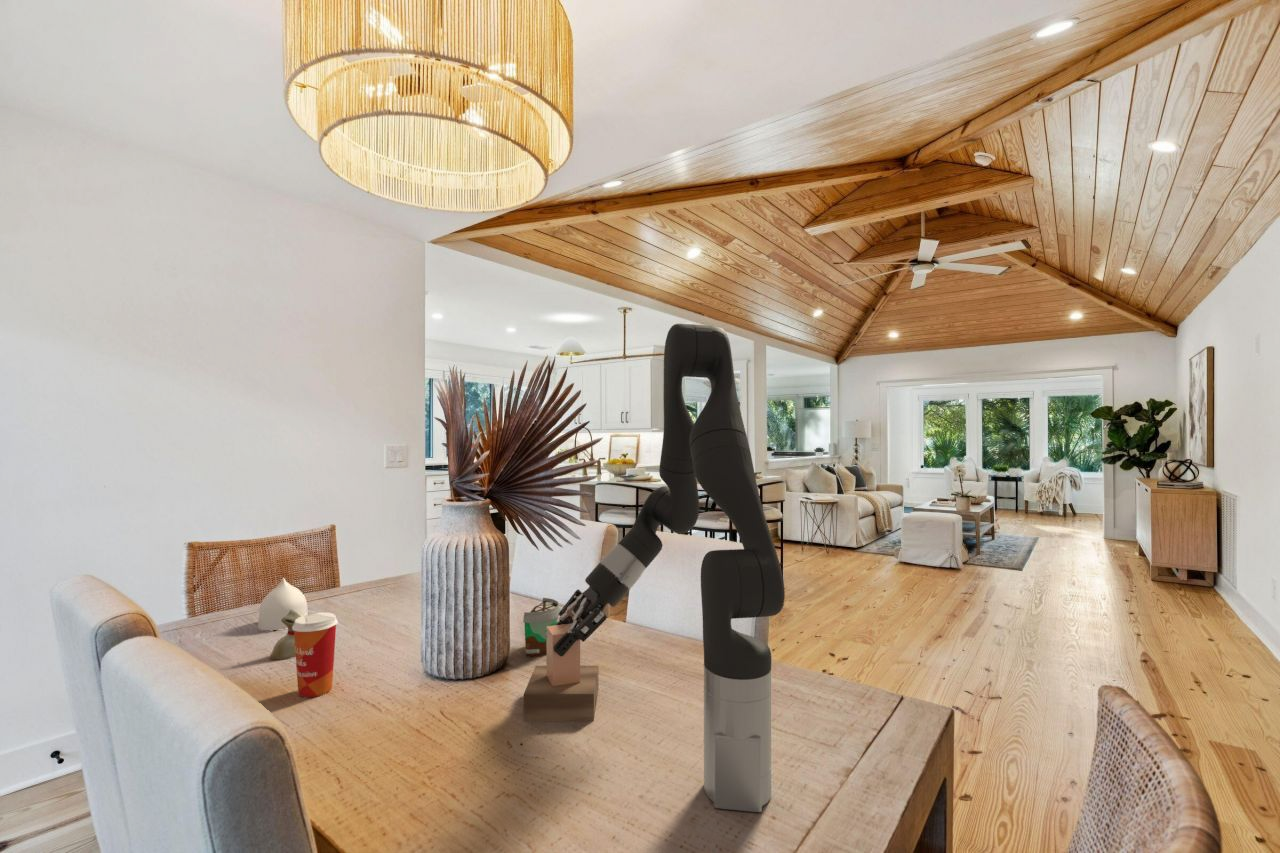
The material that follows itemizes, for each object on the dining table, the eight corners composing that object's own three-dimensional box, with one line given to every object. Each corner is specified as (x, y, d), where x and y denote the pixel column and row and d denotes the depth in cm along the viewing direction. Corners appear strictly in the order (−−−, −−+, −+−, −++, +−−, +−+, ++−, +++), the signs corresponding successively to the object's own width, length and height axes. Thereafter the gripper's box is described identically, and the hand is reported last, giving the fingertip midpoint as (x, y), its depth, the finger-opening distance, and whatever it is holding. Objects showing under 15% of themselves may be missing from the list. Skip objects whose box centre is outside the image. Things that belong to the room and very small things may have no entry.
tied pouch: (310, 656, 131) (310, 610, 131) (268, 661, 128) (268, 614, 128) (313, 647, 136) (313, 603, 136) (273, 652, 133) (273, 607, 133)
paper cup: (286, 691, 113) (286, 618, 113) (329, 679, 119) (329, 609, 119) (300, 705, 108) (300, 627, 108) (344, 691, 113) (344, 617, 113)
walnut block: (593, 723, 102) (593, 693, 102) (523, 723, 102) (523, 694, 102) (598, 691, 114) (598, 665, 114) (535, 691, 114) (535, 665, 114)
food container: (550, 661, 128) (550, 614, 128) (523, 659, 129) (523, 613, 129) (568, 641, 140) (568, 598, 140) (543, 639, 141) (543, 596, 141)
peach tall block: (580, 682, 106) (580, 631, 106) (552, 686, 105) (552, 635, 105) (573, 671, 111) (573, 623, 111) (546, 675, 109) (546, 626, 109)
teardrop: (292, 631, 147) (292, 582, 147) (247, 631, 147) (247, 582, 147) (316, 617, 158) (316, 571, 158) (275, 616, 158) (275, 571, 158)
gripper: (591, 553, 117) (530, 622, 113) (614, 570, 104) (547, 648, 100) (616, 578, 119) (558, 646, 115) (643, 597, 106) (577, 675, 101)
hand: (553, 646), depth 107 cm, fingers open, 5 cm apart
